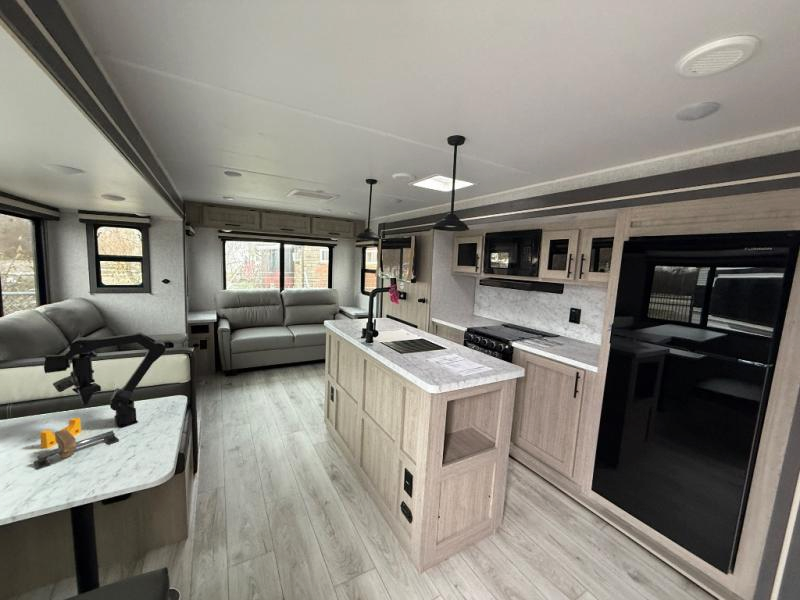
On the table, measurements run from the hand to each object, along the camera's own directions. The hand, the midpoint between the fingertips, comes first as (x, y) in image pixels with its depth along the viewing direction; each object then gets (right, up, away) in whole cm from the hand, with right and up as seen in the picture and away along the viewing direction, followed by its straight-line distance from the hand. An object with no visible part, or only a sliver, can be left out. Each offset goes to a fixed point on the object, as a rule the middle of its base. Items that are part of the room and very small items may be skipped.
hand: (85, 404), depth 133 cm
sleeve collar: (+8, -14, -15) cm, 22 cm away
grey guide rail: (+10, -14, -12) cm, 21 cm away
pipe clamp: (-5, -13, -5) cm, 15 cm away
